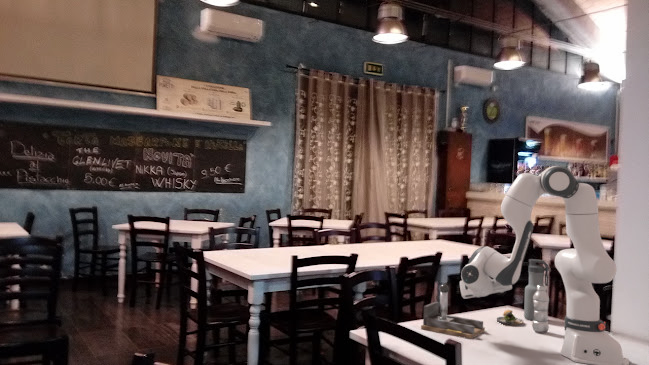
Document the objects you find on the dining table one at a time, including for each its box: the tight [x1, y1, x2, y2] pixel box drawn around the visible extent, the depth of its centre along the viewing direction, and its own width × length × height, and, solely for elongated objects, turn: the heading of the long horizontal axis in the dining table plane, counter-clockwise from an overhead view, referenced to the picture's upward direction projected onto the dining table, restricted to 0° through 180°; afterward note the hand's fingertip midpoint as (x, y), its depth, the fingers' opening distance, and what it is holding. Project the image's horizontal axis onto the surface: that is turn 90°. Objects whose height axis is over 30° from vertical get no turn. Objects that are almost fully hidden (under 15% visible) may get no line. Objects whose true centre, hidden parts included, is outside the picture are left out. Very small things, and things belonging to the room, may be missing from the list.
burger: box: [496, 306, 524, 326], centre depth 247 cm, size 12×12×8 cm
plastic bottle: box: [532, 284, 550, 334], centre depth 233 cm, size 6×7×20 cm
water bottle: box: [523, 258, 550, 322], centre depth 256 cm, size 10×10×28 cm
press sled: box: [434, 283, 454, 322], centre depth 234 cm, size 7×8×17 cm
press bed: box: [420, 301, 486, 340], centre depth 232 cm, size 22×16×10 cm
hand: (490, 293), depth 227 cm, fingers open, 8 cm apart
